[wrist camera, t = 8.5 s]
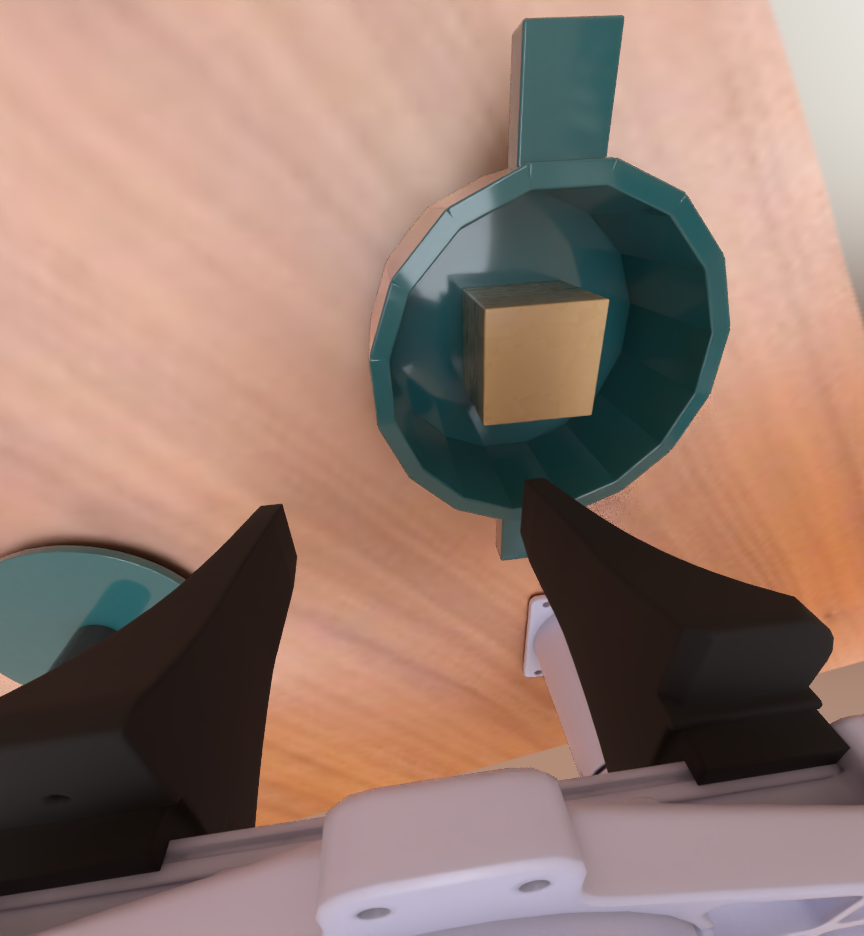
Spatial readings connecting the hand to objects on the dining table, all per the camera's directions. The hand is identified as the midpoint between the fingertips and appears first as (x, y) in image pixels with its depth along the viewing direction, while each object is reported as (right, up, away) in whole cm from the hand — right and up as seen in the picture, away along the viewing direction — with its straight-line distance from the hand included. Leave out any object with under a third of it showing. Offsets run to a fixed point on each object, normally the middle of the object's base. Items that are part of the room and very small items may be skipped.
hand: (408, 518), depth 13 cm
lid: (-17, -7, +10) cm, 21 cm away
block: (+4, +7, +5) cm, 9 cm away
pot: (+4, +7, +5) cm, 10 cm away
